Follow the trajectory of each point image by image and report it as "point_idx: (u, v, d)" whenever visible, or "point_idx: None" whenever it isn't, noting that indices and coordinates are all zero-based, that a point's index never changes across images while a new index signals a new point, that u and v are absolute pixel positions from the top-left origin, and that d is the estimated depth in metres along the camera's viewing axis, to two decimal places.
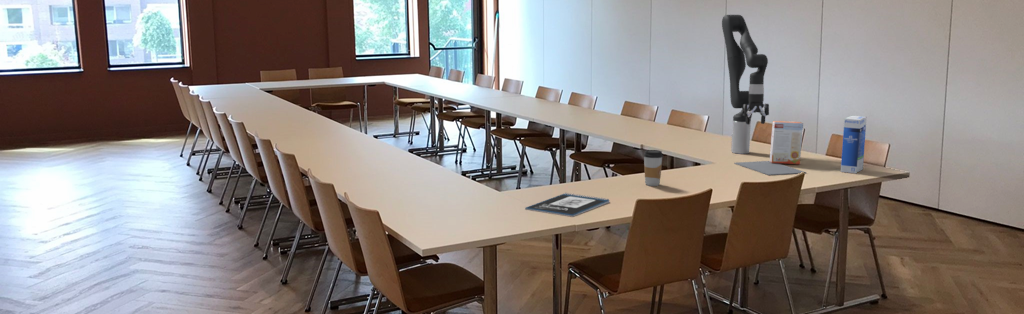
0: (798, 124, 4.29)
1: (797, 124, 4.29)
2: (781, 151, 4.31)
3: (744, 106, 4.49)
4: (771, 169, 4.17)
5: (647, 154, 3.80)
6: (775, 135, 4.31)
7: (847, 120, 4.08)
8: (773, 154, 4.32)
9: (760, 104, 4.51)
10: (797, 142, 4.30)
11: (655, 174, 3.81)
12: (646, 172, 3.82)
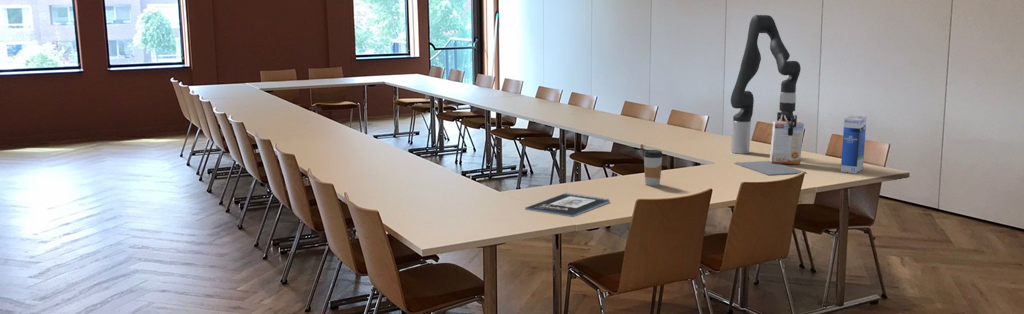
0: (799, 124, 4.28)
1: (798, 124, 4.28)
2: (782, 151, 4.31)
3: (795, 117, 4.25)
4: (771, 169, 4.17)
5: (647, 154, 3.80)
6: (775, 135, 4.30)
7: (847, 120, 4.08)
8: (773, 154, 4.32)
9: None
10: (798, 142, 4.30)
11: (655, 174, 3.81)
12: (646, 172, 3.82)
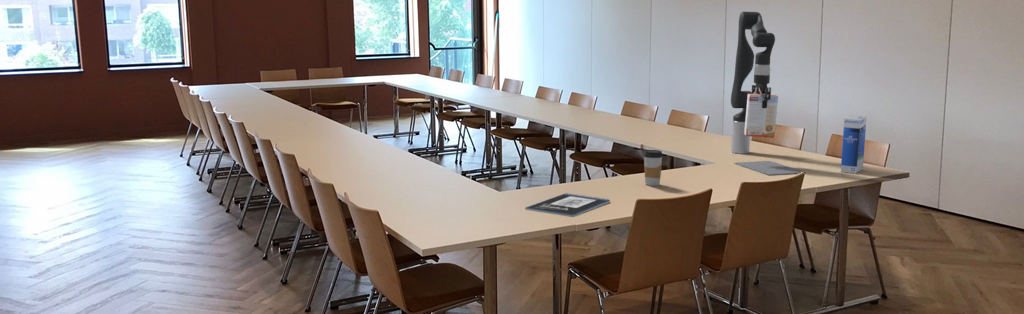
0: (773, 97, 4.24)
1: (772, 97, 4.25)
2: (756, 124, 4.27)
3: (769, 89, 4.21)
4: (771, 169, 4.17)
5: (647, 154, 3.80)
6: (750, 108, 4.26)
7: (847, 120, 4.08)
8: (747, 127, 4.28)
9: None
10: (772, 115, 4.26)
11: (655, 174, 3.81)
12: (646, 172, 3.82)
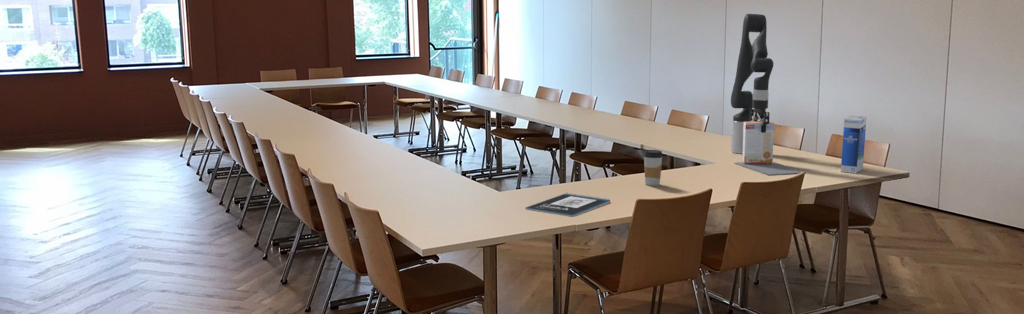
0: (769, 123, 4.27)
1: (768, 124, 4.27)
2: (754, 152, 4.30)
3: (767, 114, 4.23)
4: (771, 169, 4.17)
5: (647, 154, 3.80)
6: (746, 136, 4.29)
7: (847, 120, 4.08)
8: (745, 155, 4.30)
9: None
10: (769, 142, 4.29)
11: (655, 174, 3.81)
12: (646, 172, 3.82)
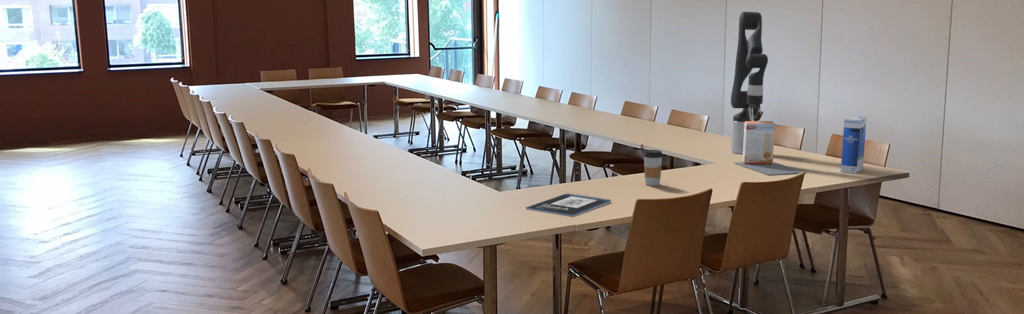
0: (770, 124, 4.25)
1: (769, 125, 4.25)
2: (754, 152, 4.29)
3: (761, 113, 4.28)
4: (771, 169, 4.17)
5: (647, 154, 3.80)
6: (747, 136, 4.28)
7: (847, 120, 4.08)
8: (746, 155, 4.30)
9: None
10: (770, 142, 4.28)
11: (655, 174, 3.81)
12: (646, 172, 3.82)
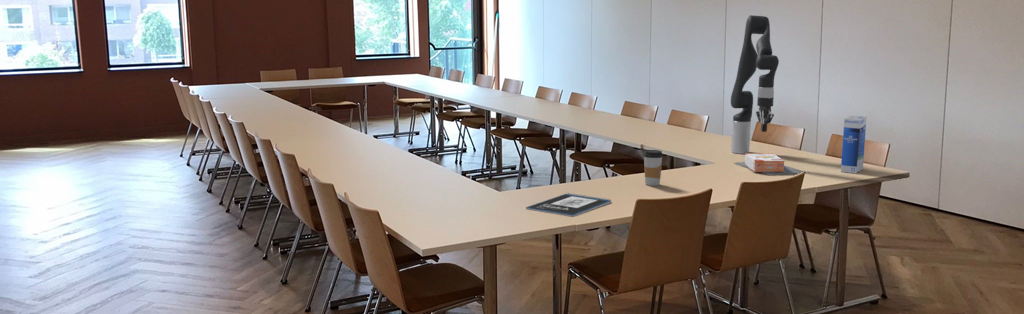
0: (778, 171, 4.10)
1: (777, 171, 4.11)
2: None
3: (771, 116, 4.19)
4: None
5: (647, 154, 3.80)
6: None
7: (847, 120, 4.08)
8: None
9: None
10: None
11: (655, 174, 3.81)
12: (646, 172, 3.82)
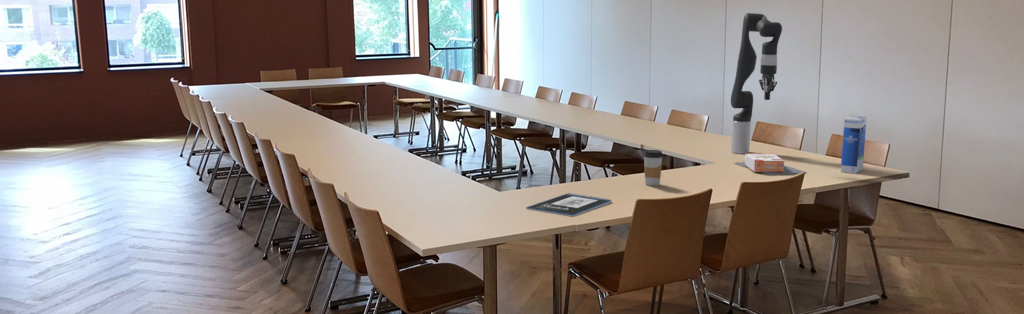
0: (778, 171, 4.10)
1: (777, 171, 4.10)
2: None
3: (774, 84, 4.15)
4: None
5: (647, 154, 3.80)
6: None
7: (847, 120, 4.08)
8: None
9: None
10: None
11: (655, 174, 3.81)
12: (646, 172, 3.82)
